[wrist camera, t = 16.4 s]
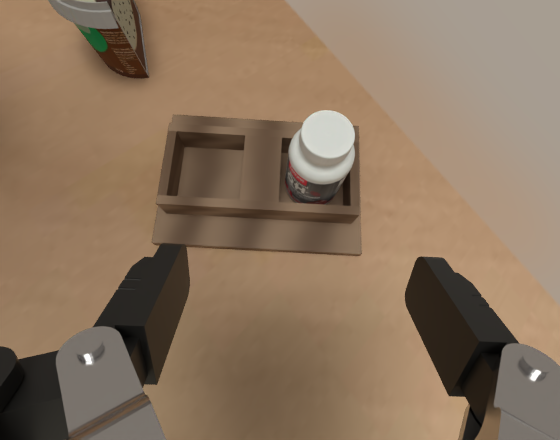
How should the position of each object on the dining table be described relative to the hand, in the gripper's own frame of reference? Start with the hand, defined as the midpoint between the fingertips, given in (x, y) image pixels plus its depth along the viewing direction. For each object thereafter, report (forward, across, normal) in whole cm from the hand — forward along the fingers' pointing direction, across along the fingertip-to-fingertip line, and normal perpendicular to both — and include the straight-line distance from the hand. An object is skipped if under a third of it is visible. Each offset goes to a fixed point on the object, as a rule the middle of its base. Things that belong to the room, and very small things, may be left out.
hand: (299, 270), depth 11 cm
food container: (+34, +20, -5) cm, 39 cm away
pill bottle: (+21, -3, +6) cm, 22 cm away
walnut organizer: (+22, +2, +6) cm, 23 cm away
